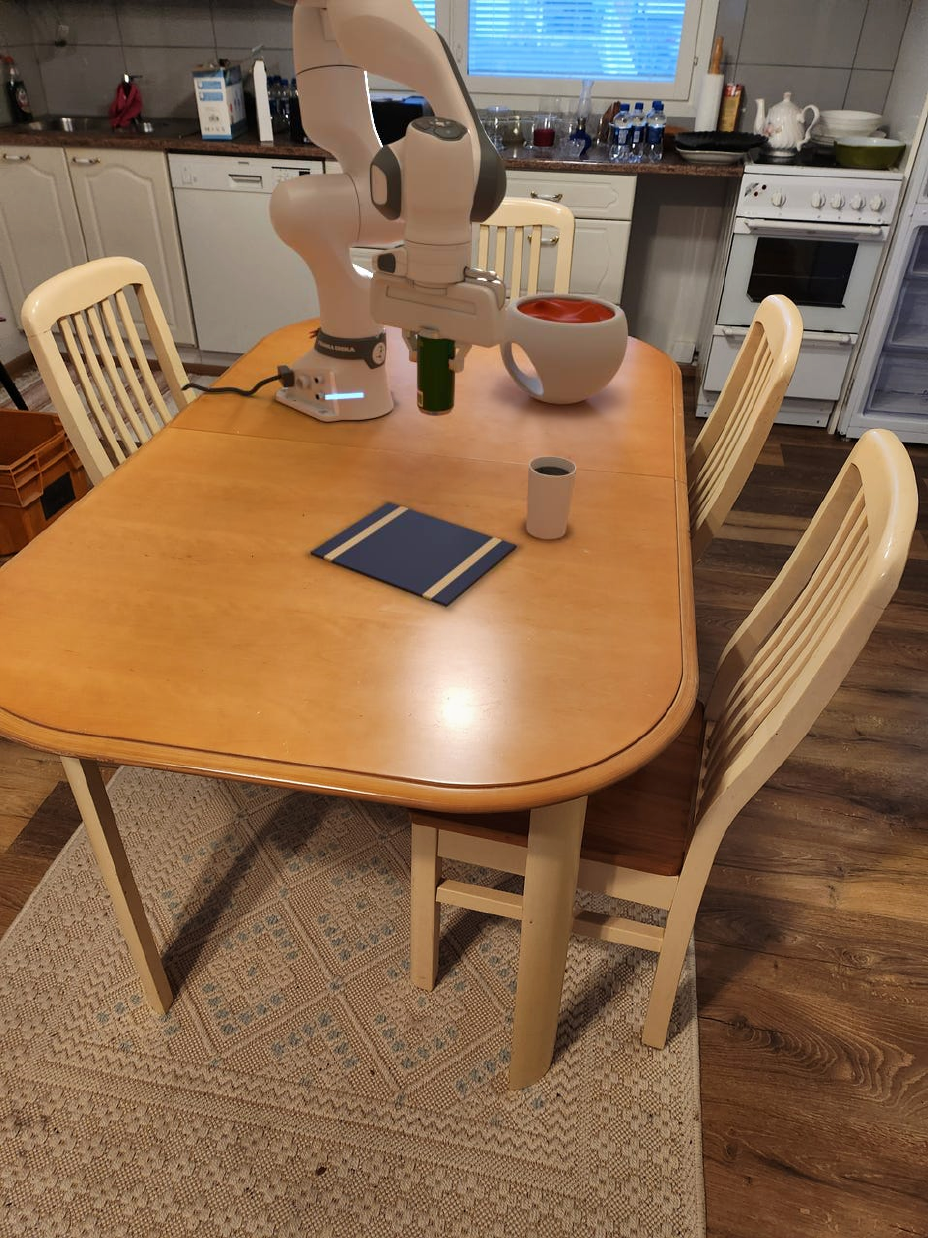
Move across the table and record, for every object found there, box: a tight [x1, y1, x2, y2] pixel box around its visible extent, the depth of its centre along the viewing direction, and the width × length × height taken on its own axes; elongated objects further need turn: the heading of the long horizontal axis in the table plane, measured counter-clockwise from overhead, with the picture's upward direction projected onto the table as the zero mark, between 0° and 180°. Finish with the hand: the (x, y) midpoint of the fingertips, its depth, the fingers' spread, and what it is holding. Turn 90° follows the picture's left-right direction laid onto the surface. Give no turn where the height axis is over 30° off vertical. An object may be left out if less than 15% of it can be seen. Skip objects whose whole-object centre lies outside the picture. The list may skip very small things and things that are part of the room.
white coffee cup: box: [525, 455, 577, 540], centre depth 123 cm, size 7×7×10 cm
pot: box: [499, 292, 629, 405], centre depth 165 cm, size 24×24×18 cm
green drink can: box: [416, 326, 457, 417], centre depth 121 cm, size 5×5×12 cm
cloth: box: [310, 501, 518, 608], centre depth 119 cm, size 22×18×1 cm
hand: (435, 366), depth 121 cm, fingers closed on green drink can, 5 cm apart
